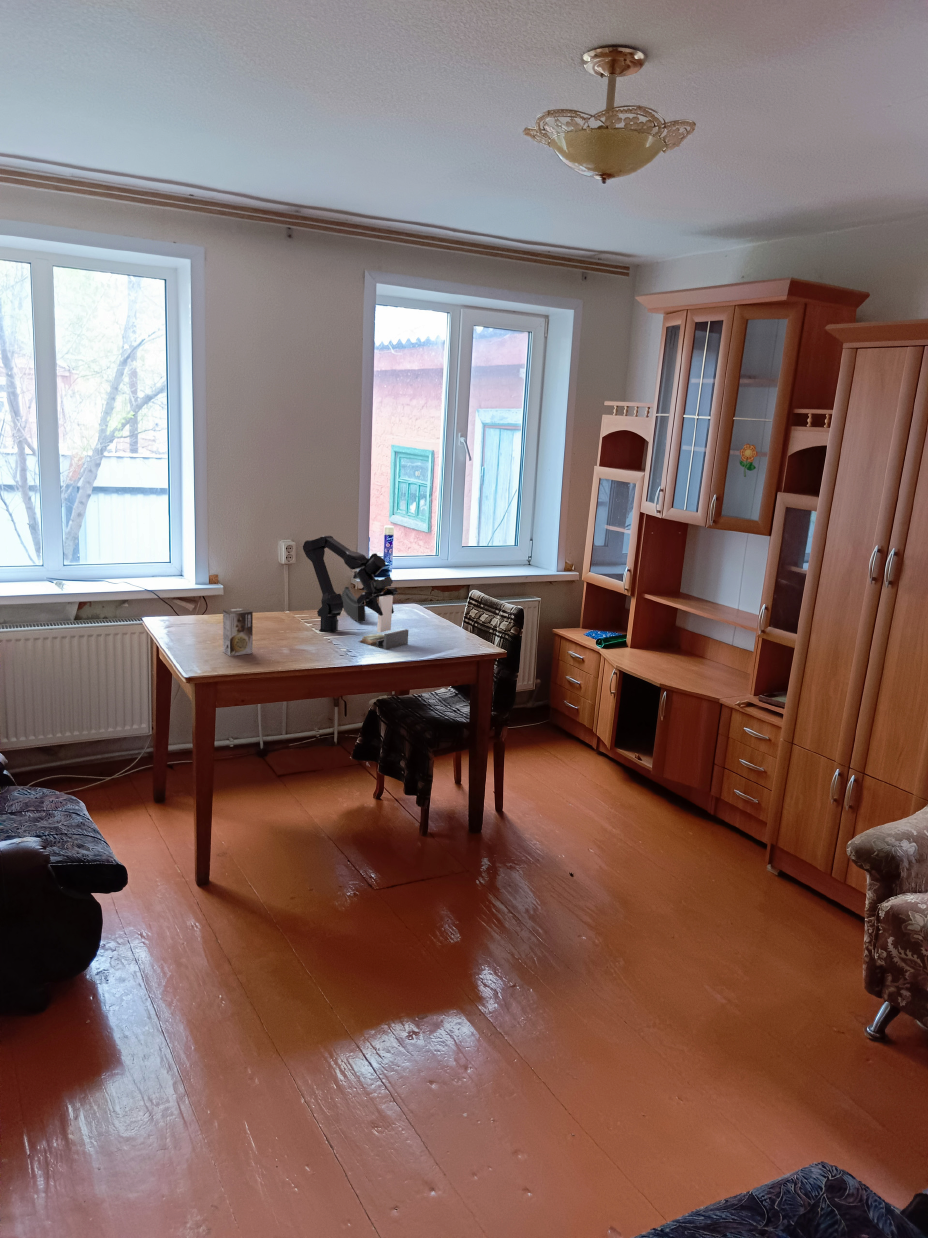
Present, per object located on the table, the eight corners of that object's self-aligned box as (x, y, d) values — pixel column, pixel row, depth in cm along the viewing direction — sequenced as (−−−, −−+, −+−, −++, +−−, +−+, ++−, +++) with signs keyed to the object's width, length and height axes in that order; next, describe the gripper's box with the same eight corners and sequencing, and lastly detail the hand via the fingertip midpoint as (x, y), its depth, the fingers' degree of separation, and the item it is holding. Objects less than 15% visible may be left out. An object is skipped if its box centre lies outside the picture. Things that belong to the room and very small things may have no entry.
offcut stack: (359, 641, 347) (360, 636, 347) (378, 637, 356) (378, 632, 356) (370, 644, 344) (371, 639, 343) (389, 640, 353) (389, 635, 352)
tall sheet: (377, 631, 344) (379, 596, 341) (387, 629, 349) (389, 594, 346) (380, 632, 343) (382, 597, 340) (390, 630, 348) (392, 595, 345)
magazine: (367, 605, 376) (351, 572, 400) (360, 605, 375) (344, 572, 399) (362, 639, 384) (346, 605, 408) (355, 639, 383) (339, 605, 407)
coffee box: (245, 649, 328) (246, 607, 325) (252, 653, 323) (253, 611, 320) (222, 652, 323) (222, 609, 319) (229, 656, 318) (230, 613, 314)
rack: (357, 644, 347) (358, 627, 345) (379, 639, 357) (380, 622, 356) (385, 652, 338) (386, 634, 337) (407, 646, 349) (408, 629, 347)
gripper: (363, 572, 336) (383, 605, 332) (395, 567, 350) (415, 600, 347) (347, 588, 342) (366, 621, 338) (380, 583, 357) (398, 615, 353)
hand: (387, 614), depth 344 cm, fingers closed on tall sheet, 6 cm apart
